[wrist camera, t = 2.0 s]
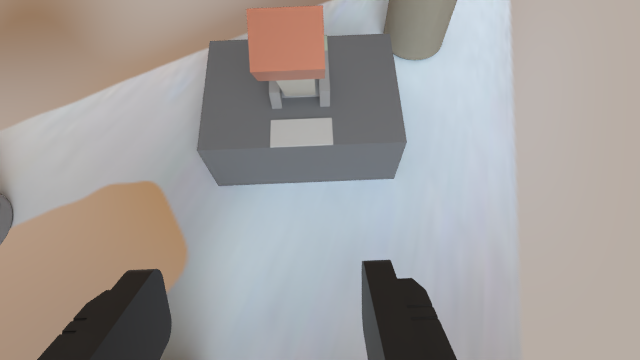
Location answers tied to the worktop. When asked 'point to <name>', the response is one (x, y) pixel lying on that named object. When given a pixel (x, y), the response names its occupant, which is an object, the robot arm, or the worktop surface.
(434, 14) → the travel mug
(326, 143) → the grey box
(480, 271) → the worktop surface
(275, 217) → the worktop surface
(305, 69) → the white tall piece
